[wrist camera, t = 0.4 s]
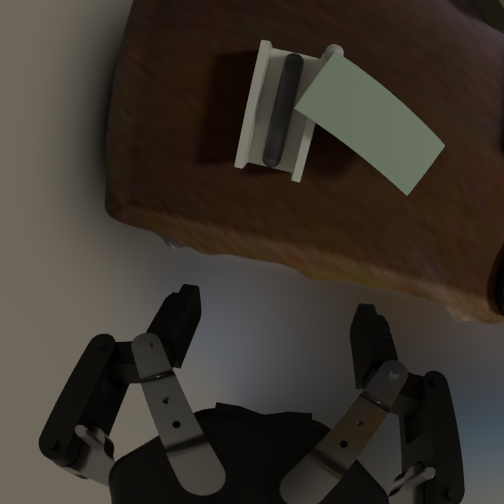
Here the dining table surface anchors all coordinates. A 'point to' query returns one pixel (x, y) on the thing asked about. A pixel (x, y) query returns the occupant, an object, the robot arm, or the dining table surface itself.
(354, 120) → the cover
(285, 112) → the curved white channel
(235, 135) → the dining table surface
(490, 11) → the can
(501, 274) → the cable lock
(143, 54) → the dining table surface
